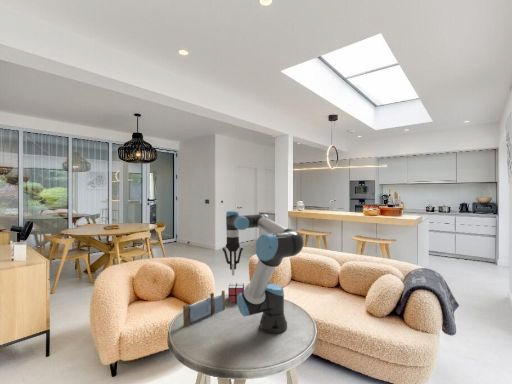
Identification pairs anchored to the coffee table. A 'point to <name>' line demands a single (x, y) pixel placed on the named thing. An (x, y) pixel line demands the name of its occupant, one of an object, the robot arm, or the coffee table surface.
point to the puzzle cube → (235, 291)
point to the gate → (200, 310)
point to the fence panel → (219, 302)
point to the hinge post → (212, 303)
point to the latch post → (186, 315)
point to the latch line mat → (200, 319)
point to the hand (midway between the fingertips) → (233, 274)
